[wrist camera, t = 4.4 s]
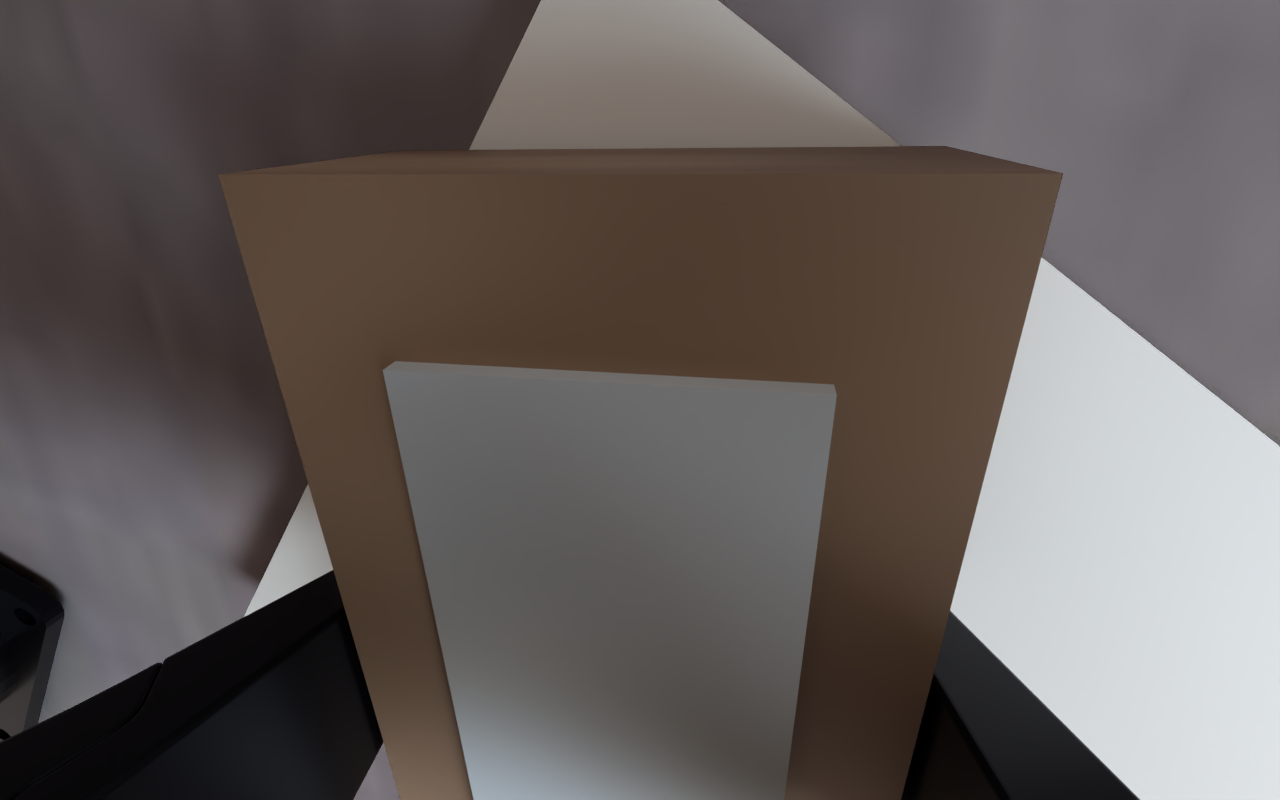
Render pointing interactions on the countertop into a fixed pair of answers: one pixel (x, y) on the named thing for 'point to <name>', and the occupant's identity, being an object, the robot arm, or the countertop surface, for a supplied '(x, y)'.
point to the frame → (646, 448)
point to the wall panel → (1023, 445)
